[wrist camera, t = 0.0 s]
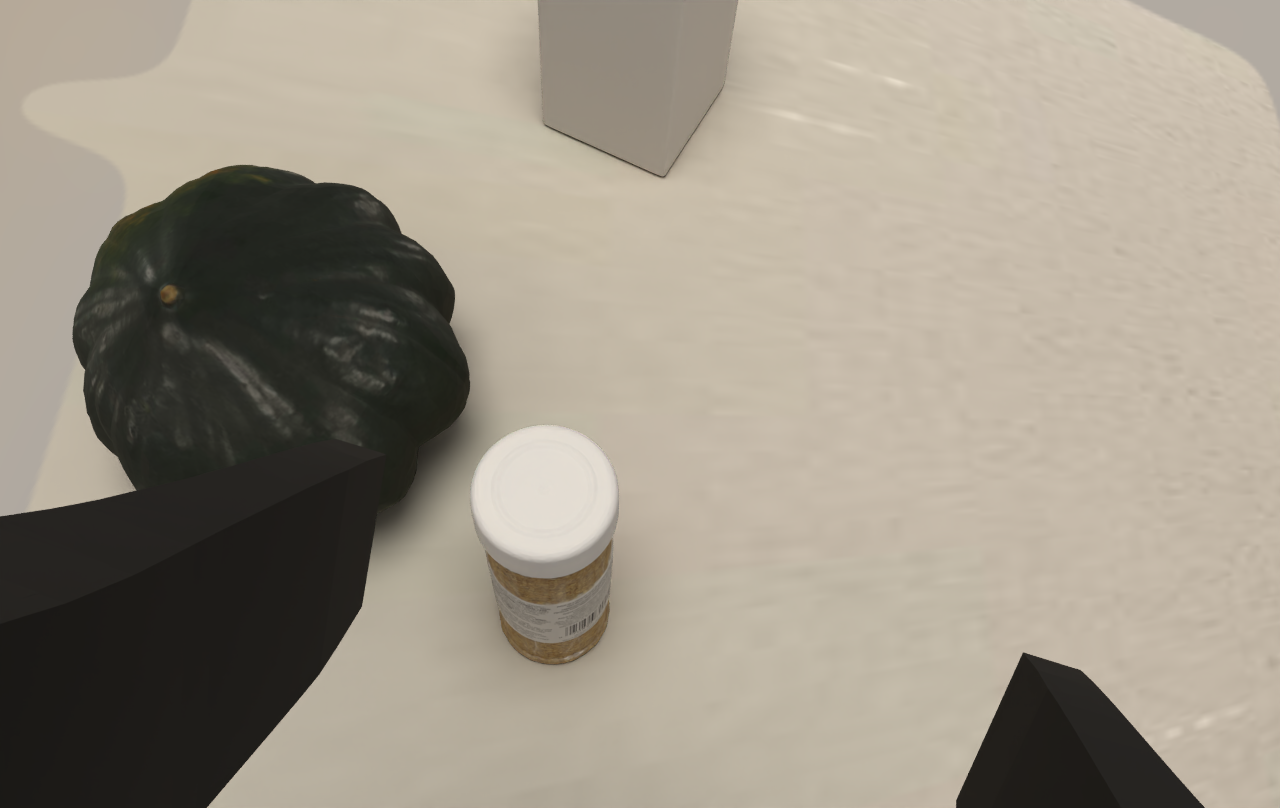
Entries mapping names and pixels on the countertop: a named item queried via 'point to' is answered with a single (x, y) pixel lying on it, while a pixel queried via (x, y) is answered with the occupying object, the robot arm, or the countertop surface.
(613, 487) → the sprinkles bottle
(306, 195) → the squash
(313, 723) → the countertop surface
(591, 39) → the milk carton
